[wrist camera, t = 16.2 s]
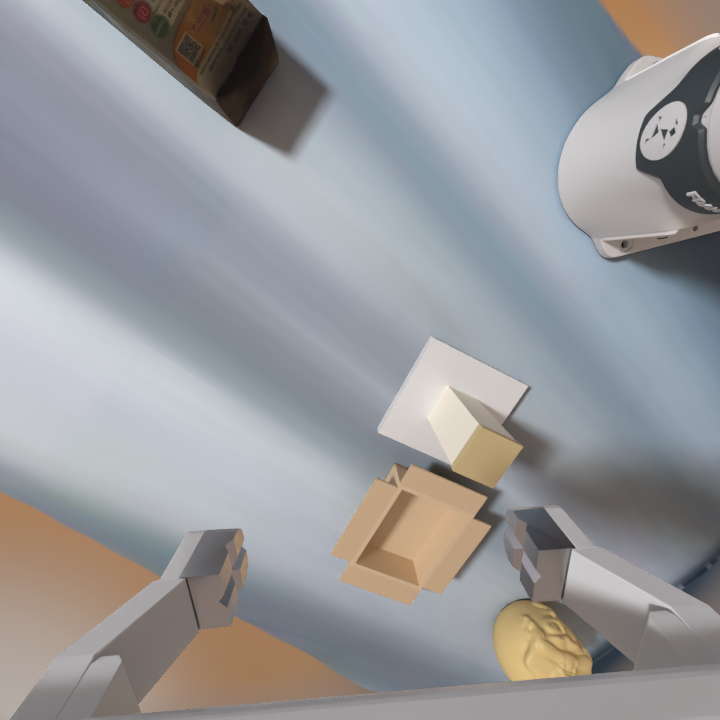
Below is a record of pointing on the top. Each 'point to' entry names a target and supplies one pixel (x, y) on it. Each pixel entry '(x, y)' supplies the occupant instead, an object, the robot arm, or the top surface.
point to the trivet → (427, 386)
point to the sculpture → (537, 643)
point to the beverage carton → (201, 46)
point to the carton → (410, 534)
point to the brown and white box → (472, 438)
